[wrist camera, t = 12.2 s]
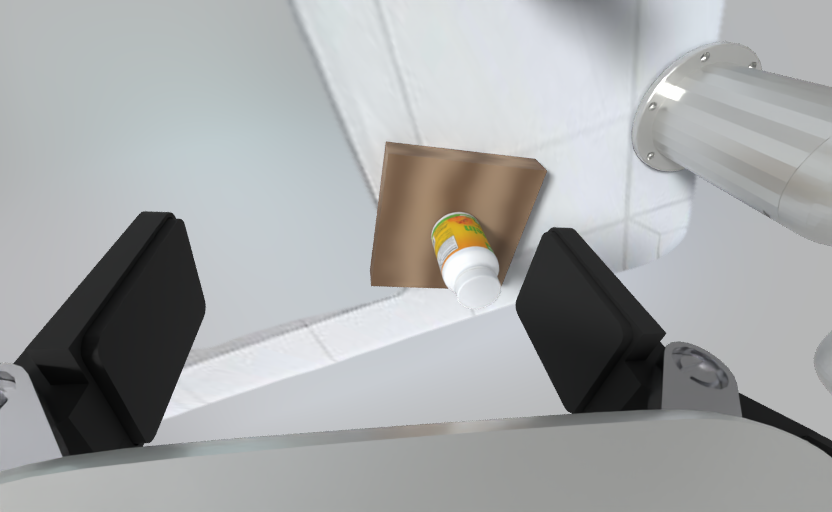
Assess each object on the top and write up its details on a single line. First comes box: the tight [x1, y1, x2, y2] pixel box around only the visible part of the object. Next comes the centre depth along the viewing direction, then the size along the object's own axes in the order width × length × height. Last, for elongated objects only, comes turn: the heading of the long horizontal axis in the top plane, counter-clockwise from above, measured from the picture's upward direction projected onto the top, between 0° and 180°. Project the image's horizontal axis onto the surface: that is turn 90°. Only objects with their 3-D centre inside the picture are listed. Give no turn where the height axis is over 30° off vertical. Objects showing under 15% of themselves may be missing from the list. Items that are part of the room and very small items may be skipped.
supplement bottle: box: [431, 212, 501, 309], centre depth 37 cm, size 5×5×10 cm
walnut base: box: [370, 142, 547, 289], centre depth 42 cm, size 16×16×3 cm
